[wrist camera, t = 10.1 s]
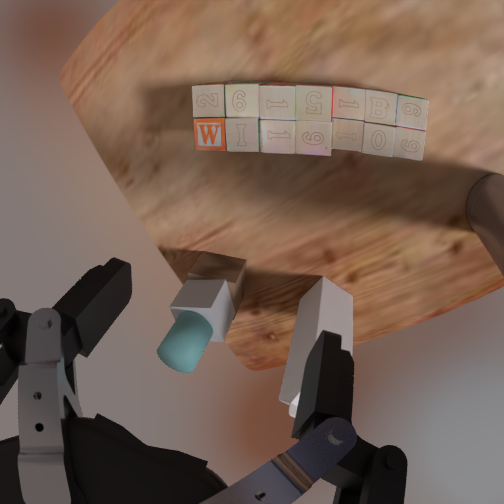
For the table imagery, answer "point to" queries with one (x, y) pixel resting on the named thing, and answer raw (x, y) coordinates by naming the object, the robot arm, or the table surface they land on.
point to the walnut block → (221, 273)
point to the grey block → (207, 304)
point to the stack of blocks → (307, 119)
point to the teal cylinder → (185, 342)
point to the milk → (315, 332)
